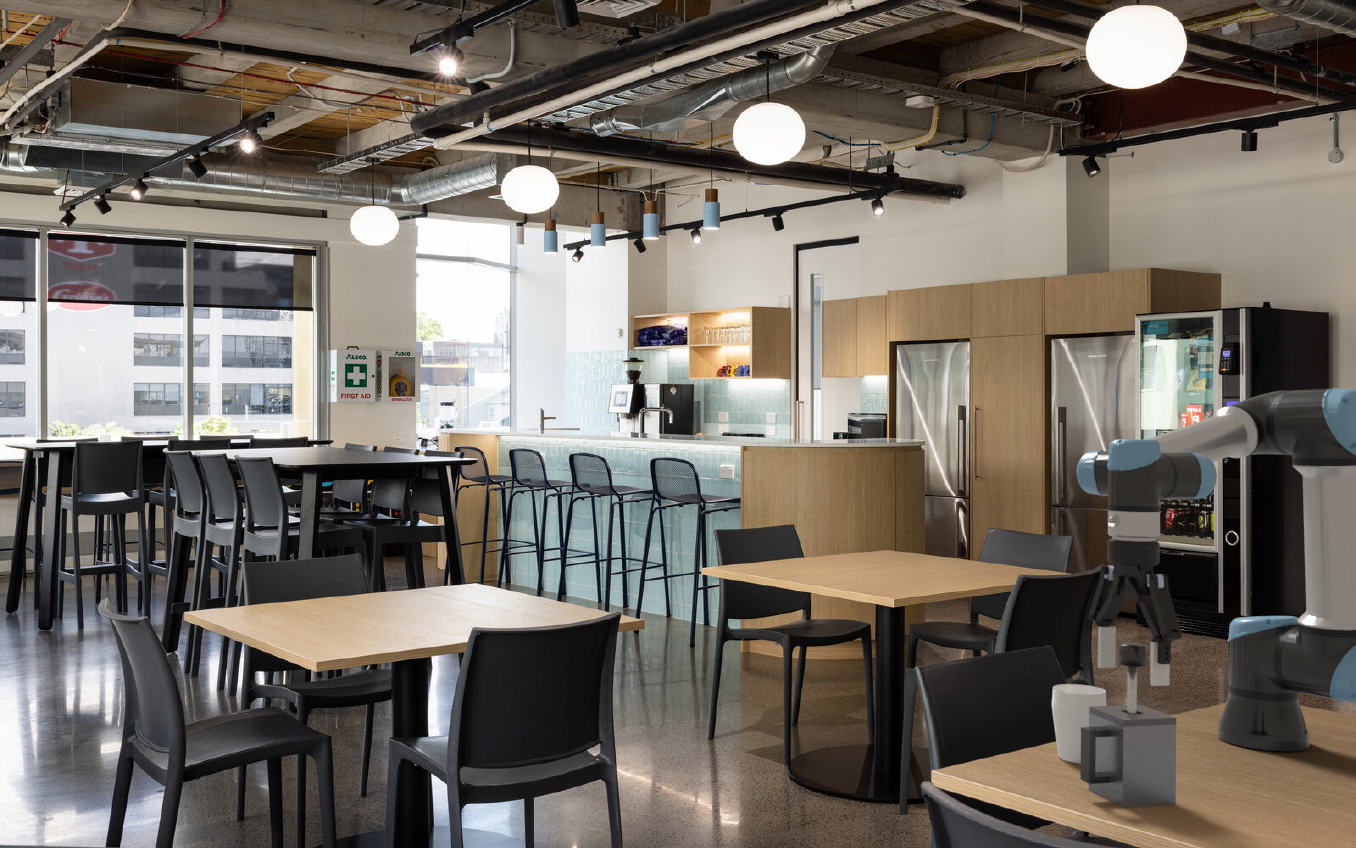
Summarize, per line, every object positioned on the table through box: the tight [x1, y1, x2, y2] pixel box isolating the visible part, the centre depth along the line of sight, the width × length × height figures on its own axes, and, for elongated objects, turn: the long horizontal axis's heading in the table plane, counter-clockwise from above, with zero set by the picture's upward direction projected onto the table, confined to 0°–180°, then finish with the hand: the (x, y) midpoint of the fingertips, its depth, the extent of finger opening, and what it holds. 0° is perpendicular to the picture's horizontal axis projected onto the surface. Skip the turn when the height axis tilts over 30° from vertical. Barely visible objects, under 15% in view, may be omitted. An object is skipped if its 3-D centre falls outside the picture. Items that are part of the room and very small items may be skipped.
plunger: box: [1118, 642, 1147, 714], centre depth 178 cm, size 6×6×20 cm
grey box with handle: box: [1080, 704, 1177, 808], centre depth 177 cm, size 12×9×13 cm
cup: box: [1051, 683, 1108, 765], centre depth 199 cm, size 9×9×12 cm
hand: (1132, 676), depth 178 cm, fingers open, 13 cm apart
